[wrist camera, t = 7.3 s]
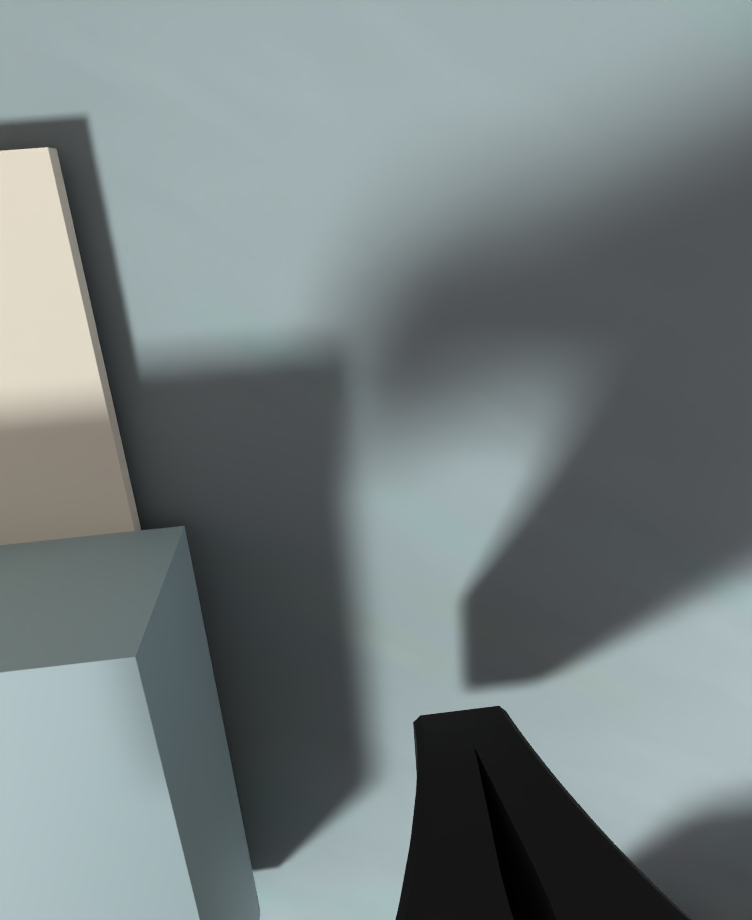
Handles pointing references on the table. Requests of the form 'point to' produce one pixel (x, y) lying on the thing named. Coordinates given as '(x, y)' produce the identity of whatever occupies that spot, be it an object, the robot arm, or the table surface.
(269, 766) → the table surface
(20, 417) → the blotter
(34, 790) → the blue-grey box
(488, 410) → the table surface
